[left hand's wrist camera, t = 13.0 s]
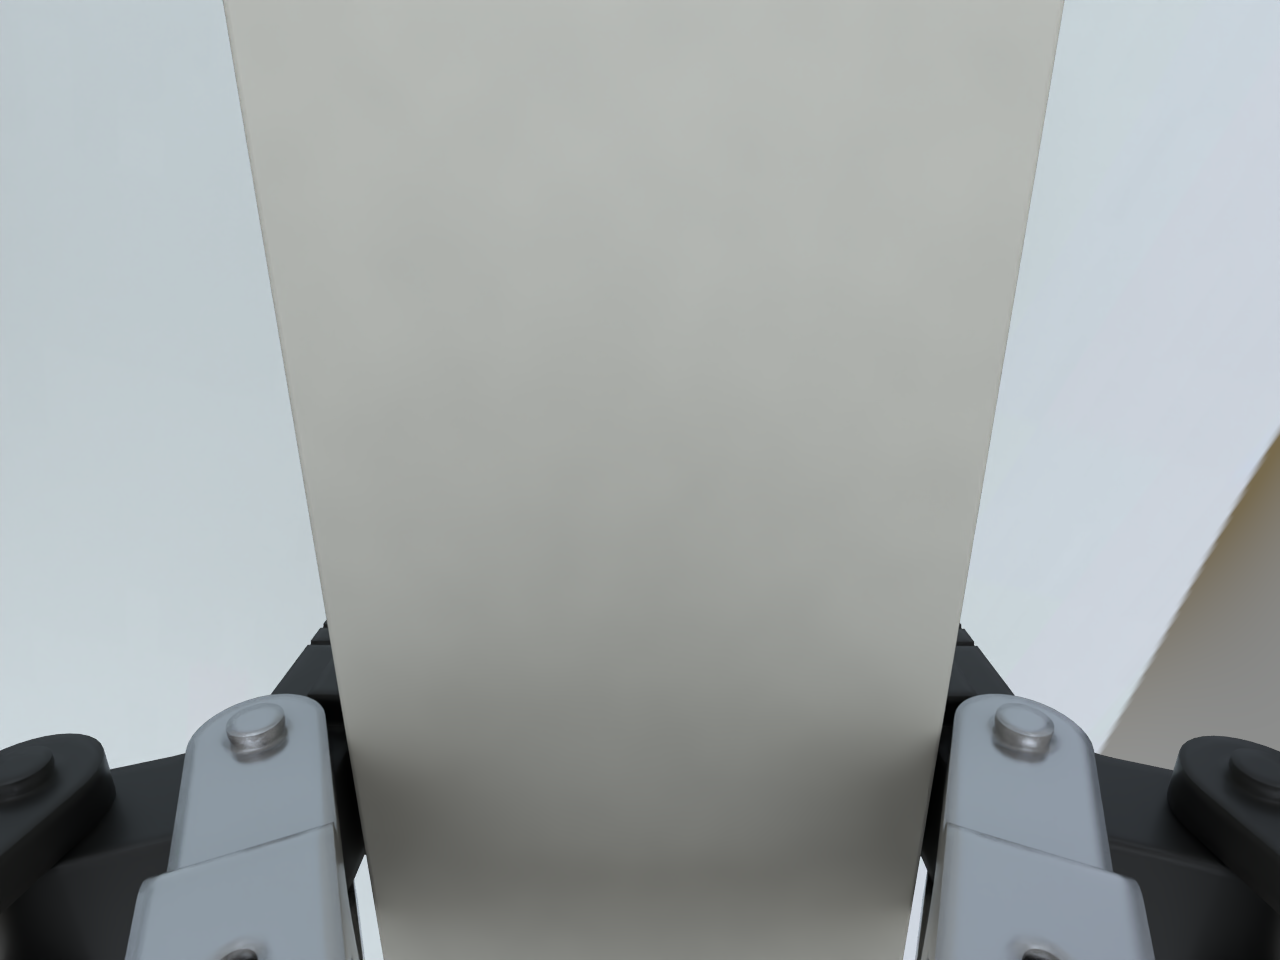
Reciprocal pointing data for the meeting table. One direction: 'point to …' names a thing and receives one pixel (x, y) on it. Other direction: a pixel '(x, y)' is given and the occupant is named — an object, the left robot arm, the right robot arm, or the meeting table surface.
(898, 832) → the box
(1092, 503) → the meeting table surface
